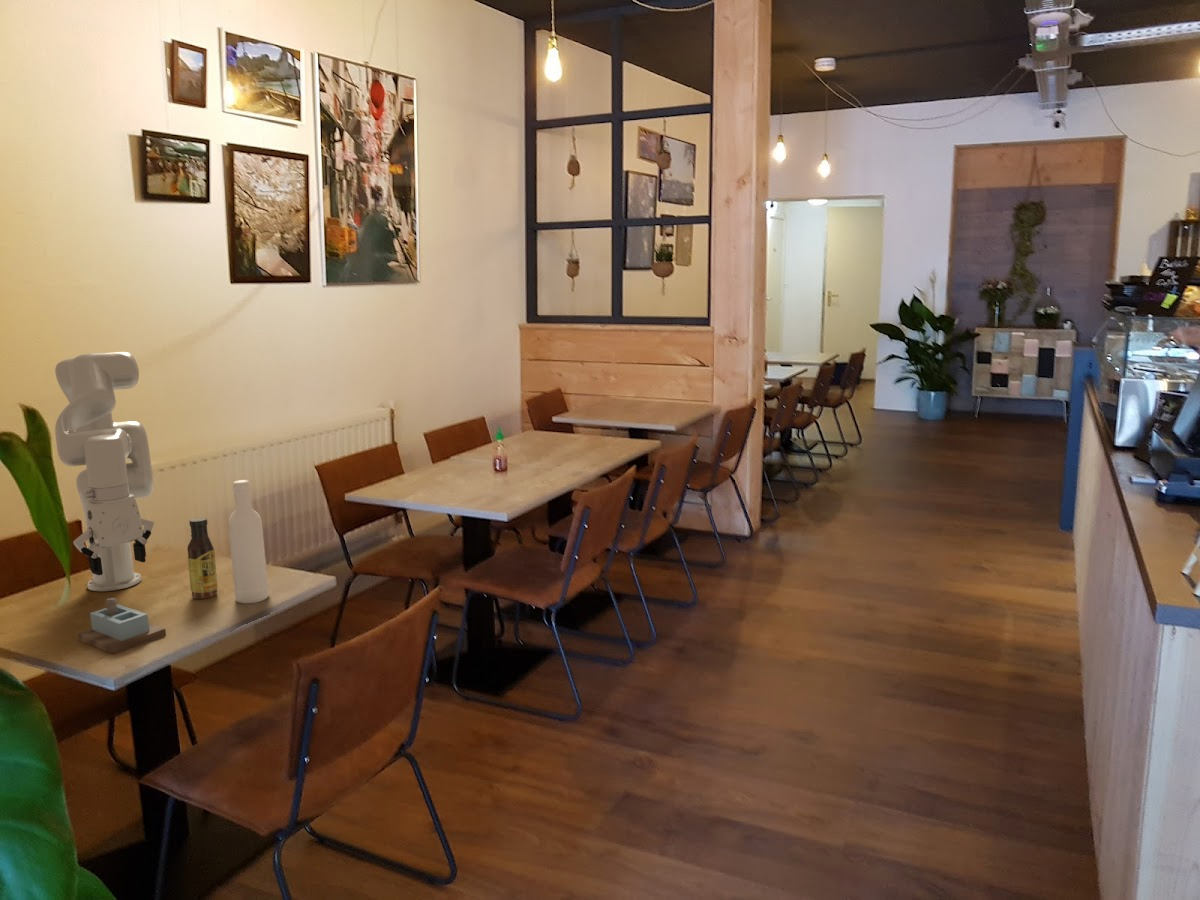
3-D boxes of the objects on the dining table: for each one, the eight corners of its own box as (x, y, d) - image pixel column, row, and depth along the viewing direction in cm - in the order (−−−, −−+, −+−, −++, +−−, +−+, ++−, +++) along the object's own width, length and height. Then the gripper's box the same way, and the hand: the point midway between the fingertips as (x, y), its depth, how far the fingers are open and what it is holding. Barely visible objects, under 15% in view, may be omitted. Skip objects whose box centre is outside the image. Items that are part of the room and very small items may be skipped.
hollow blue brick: (92, 629, 206) (89, 613, 205) (119, 620, 212) (117, 604, 211) (121, 640, 200) (119, 623, 199) (149, 631, 205) (147, 614, 204)
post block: (79, 640, 204) (74, 604, 203) (131, 622, 214) (126, 588, 212) (113, 653, 197) (108, 616, 195) (166, 634, 207) (161, 599, 205)
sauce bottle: (208, 600, 227) (200, 524, 223) (186, 599, 228) (177, 522, 224) (224, 591, 234) (216, 516, 230) (202, 590, 235) (194, 515, 231)
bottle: (243, 592, 233) (232, 477, 227) (274, 592, 232) (263, 477, 226) (230, 604, 225) (217, 485, 219) (261, 603, 225) (250, 485, 219)
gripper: (78, 504, 188) (89, 582, 192) (157, 485, 202) (166, 559, 206) (59, 499, 192) (70, 576, 196) (138, 481, 207) (146, 553, 210)
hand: (119, 567), depth 201 cm, fingers open, 9 cm apart
